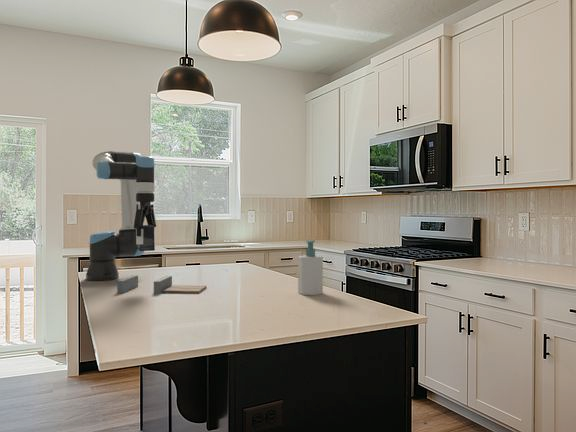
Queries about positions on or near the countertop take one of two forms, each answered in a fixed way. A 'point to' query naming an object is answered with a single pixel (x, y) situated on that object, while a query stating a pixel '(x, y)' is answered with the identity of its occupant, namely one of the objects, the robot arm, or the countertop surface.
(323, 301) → the countertop surface
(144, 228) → the small box
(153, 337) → the countertop surface
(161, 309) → the countertop surface
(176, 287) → the walnut pad
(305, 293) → the soap bottle
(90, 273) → the robot arm
